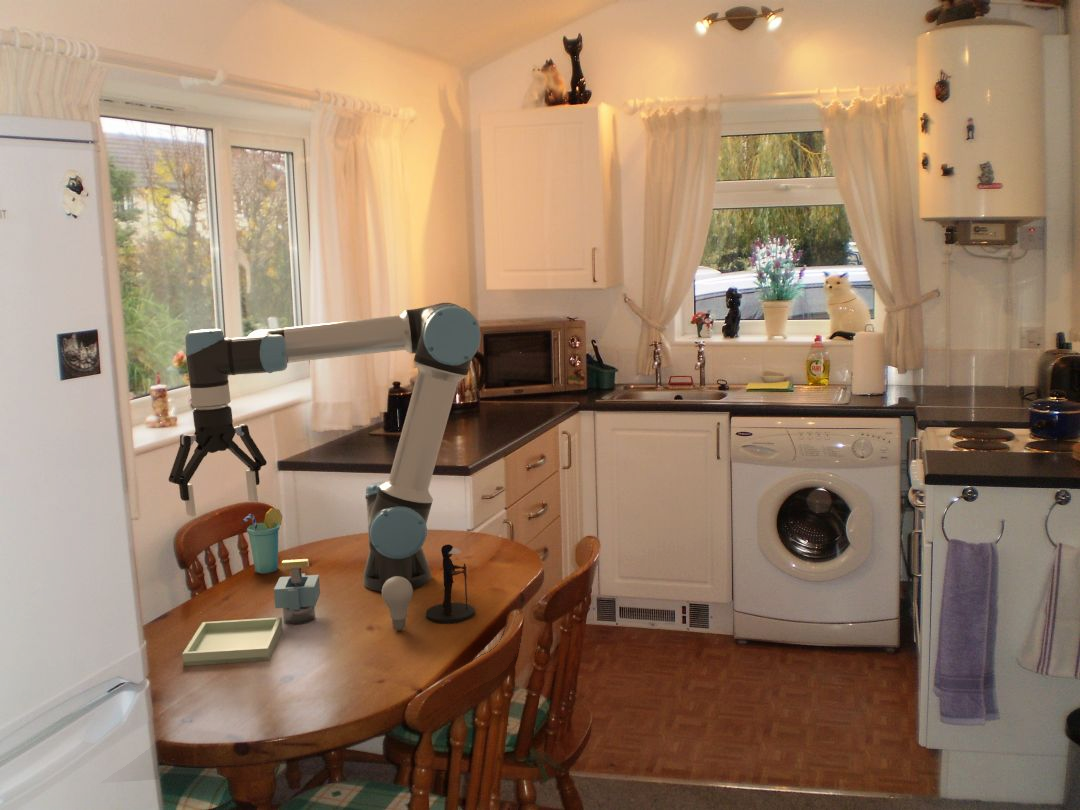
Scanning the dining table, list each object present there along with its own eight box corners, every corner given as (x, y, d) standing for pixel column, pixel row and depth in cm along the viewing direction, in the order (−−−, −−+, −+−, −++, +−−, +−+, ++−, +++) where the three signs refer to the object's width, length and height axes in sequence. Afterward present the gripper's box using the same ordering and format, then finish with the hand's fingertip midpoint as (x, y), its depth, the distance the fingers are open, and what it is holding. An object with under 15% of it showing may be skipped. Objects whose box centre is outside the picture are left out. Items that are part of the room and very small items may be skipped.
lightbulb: (420, 626, 220) (417, 573, 218) (406, 637, 214) (403, 582, 212) (392, 623, 222) (389, 571, 220) (378, 634, 216) (375, 580, 214)
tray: (282, 628, 221) (281, 617, 221) (268, 660, 205) (267, 648, 205) (203, 633, 220) (202, 622, 220) (183, 665, 204) (182, 653, 204)
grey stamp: (317, 612, 230) (313, 555, 228) (313, 623, 223) (308, 564, 221) (286, 614, 229) (281, 557, 227) (281, 625, 223) (276, 566, 221)
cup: (262, 581, 252) (257, 518, 250) (233, 579, 255) (228, 516, 252) (294, 563, 265) (289, 502, 263) (266, 561, 268) (261, 501, 265)
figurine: (477, 621, 222) (474, 549, 219) (427, 626, 220) (423, 553, 217) (471, 604, 231) (468, 535, 229) (423, 609, 230) (419, 540, 227)
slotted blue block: (282, 592, 231) (281, 574, 230) (321, 590, 232) (319, 572, 231) (273, 611, 220) (272, 591, 219) (314, 608, 221) (312, 589, 220)
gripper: (259, 395, 233) (269, 493, 236) (143, 414, 217) (156, 518, 220) (276, 398, 227) (286, 498, 231) (159, 417, 211) (171, 524, 215)
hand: (222, 508), depth 226 cm, fingers open, 13 cm apart
